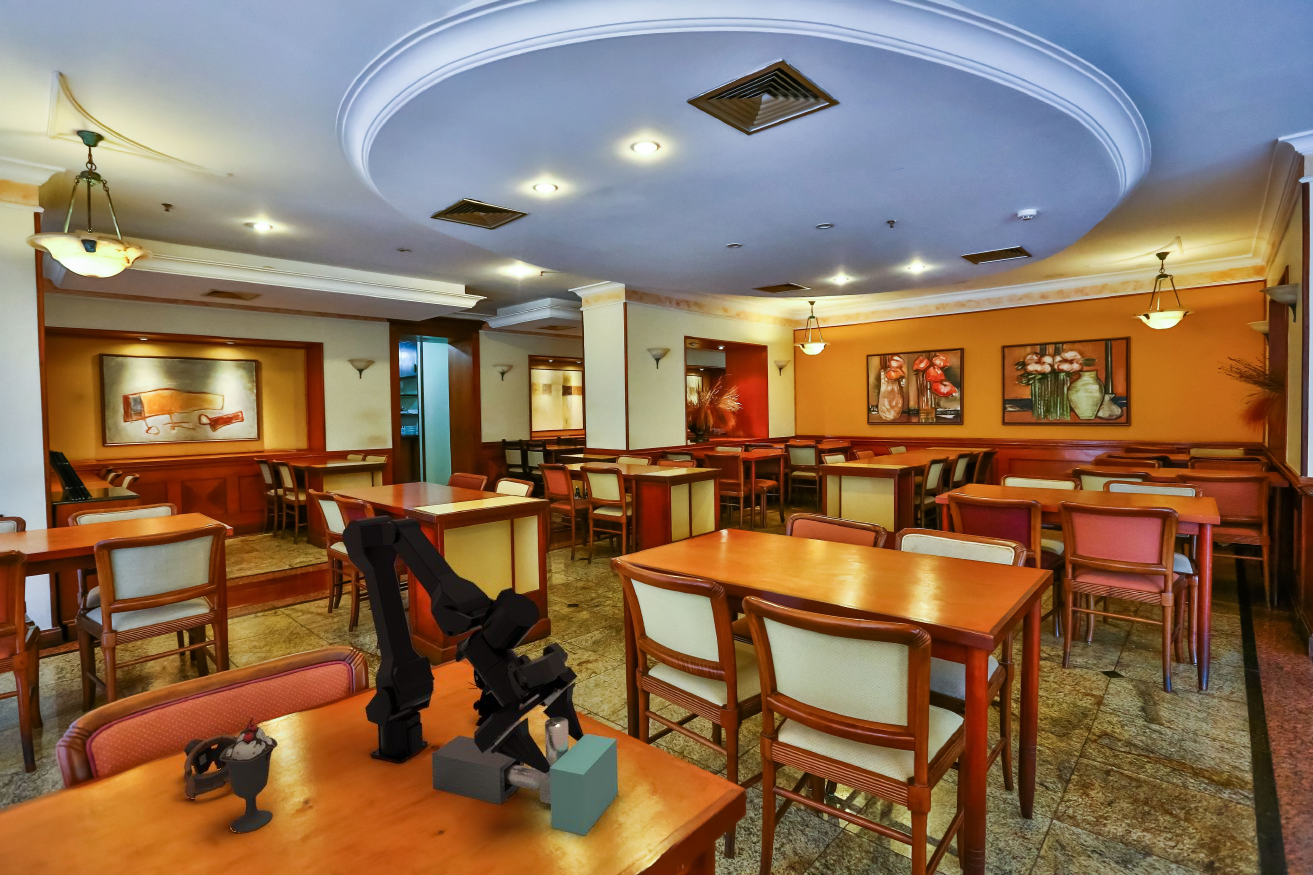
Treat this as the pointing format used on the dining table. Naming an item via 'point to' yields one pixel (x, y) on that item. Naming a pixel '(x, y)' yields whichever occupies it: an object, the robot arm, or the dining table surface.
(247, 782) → the sundae
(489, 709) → the cat figurine
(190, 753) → the strapped goggles
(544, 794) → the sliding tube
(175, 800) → the dining table surface
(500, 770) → the grey rectangular box
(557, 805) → the teal block
